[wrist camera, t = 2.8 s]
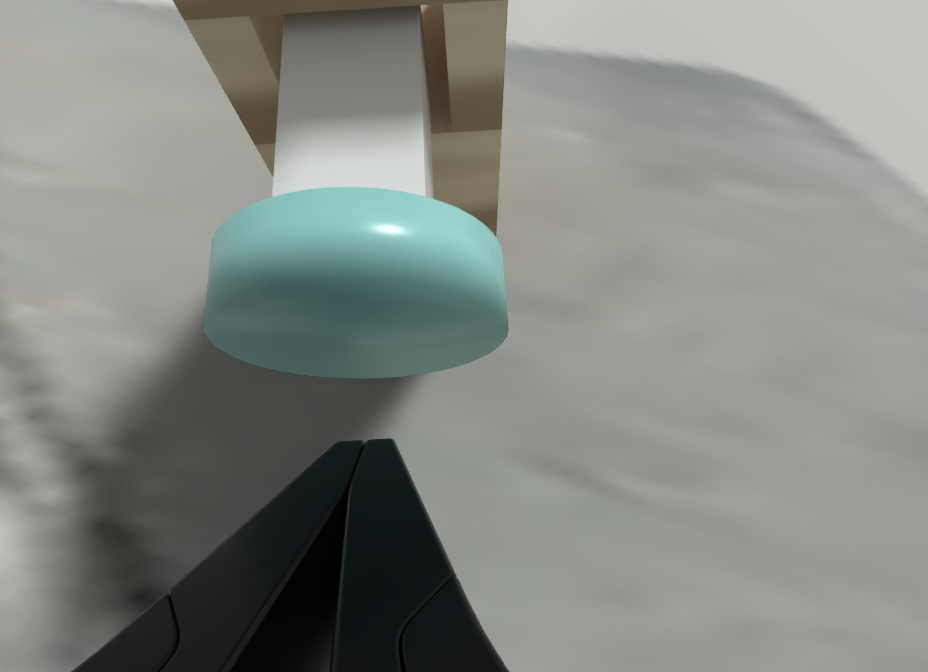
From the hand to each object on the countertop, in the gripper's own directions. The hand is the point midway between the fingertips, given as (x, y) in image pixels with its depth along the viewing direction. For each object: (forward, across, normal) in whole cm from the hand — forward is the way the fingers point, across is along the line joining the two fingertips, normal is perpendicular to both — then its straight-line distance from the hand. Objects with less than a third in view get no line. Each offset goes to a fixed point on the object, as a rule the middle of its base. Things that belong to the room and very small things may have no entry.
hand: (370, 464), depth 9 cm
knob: (+4, 0, -2) cm, 5 cm away
